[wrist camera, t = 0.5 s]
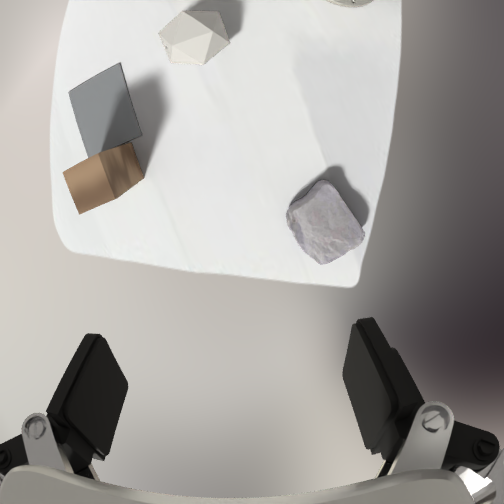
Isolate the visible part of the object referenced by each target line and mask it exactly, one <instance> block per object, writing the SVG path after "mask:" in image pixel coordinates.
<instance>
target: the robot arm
mask: <svg viewBox="0 0 504 504" xmlns="http://www.w3.org/2000/svg"><path fill="white" fill-rule="evenodd" d="M326 1H329V2H331V3H333V4H337V5H340V6H345V7H361V6H364V5H367V4H369V3H370V2H372V1H373V0H326ZM343 380H344V383H345V385H346V389H347V392H348V395H349V398H350V401H351V404H352V407H353V410H354V413H355V416H356V419H357V422H358V426H359V429H360V432H361V435H362V438H363V441H364V445H365V447H366V449H370V450H371V452H372V455H373V454H376V453H380V452H381V455H382V458H383V459H384V462H383V464H382V466H381V468H380V469H379V471H378V473H377V475H376V477H375V479H371V480H367V481H363V482H359V483H355V484H350V485H346V486H341V487H336V488H331V489H325V490H320V491H314V492H307V493H301V494H293V495H284V496H274V497H260V498H259V497H258V498H202V497H188V496H177V495H169V494H161V493H154V492H148V491H142V490H136V489H131V488H125V487H121V486H117V485H113V484H108V483H105V482H101V481H100V480H99V478H98V476H97V474H96V472H95V470H94V468H93V466H92V464H91V461H92V458H94V459H97V460H102V461H104V460H105V456H107V455H108V454H109V452H110V448H111V445H112V441H113V438H114V434H115V430H116V427H117V423H118V420H119V417H120V413H121V410H122V406H123V403H124V400H125V397H126V394H127V390H128V382H127V380H126V378H125V376H124V374H123V372H122V371H121V369H120V367H119V365H118V363H117V361H116V359H115V357H114V355H113V353H112V351H111V349H110V347H109V345H108V343H107V341H106V339H105V338H103V337H102V335H100V334H89V333H88V334H86V335H85V336H84V338H83V340H82V342H81V343H80V345H79V347H78V349H77V351H76V352H75V354H74V356H73V358H72V360H71V362H70V363H69V365H68V367H67V369H66V371H65V373H64V375H63V377H62V379H61V381H60V383H59V385H58V387H57V389H56V391H55V393H54V395H53V397H52V400H51V401H50V404H49V406H48V408H47V410H46V412H47V413H48V414H47V416H45V415H44V414H42V413H34V414H31V415H30V416H28V417H27V418H26V419H25V421H24V422H23V425H22V434H20V435H18V436H16V437H14V438H13V439H10V440H8V441H6V442H4V443H2V444H0V504H504V449H502V450H501V449H499V441H498V440H497V438H496V436H495V435H494V434H492V433H490V432H488V431H484V430H481V429H478V428H475V427H472V426H469V425H466V424H463V423H460V422H457V421H454V417H453V413H452V411H451V409H450V408H449V407H448V406H447V405H445V404H443V403H441V402H436V401H433V402H428V403H426V404H425V402H424V400H423V398H422V396H421V394H420V392H419V390H418V388H417V386H416V384H415V382H414V380H413V378H412V377H411V375H410V373H409V371H408V369H407V367H406V366H405V364H404V362H403V360H402V358H401V356H400V355H399V353H398V351H397V350H396V349H395V348H390V346H389V344H388V342H387V340H386V338H385V337H384V335H383V333H382V332H381V330H380V328H379V326H378V325H377V323H376V321H375V319H374V318H373V317H370V318H363V319H358V320H357V322H356V324H353V325H352V329H351V334H350V340H349V344H348V349H347V354H346V358H345V363H344V367H343ZM472 497H473V498H474V500H473V498H472ZM474 502H475V503H474Z"/></svg>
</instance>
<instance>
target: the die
mask: <svg viewBox="0 0 504 504" xmlns="http://www.w3.org/2000/svg"><path fill="white" fill-rule="evenodd" d="M159 36H160V38H161V40H162V43H163V45H164V48H165V50H166V52H167V55H168V57H169V59H170V62H171V64H196V65H204V64H205V63H206V62H208V61H209V60H210V59H211V58H212V57H214V56H215V55H216V54H217V53H218V52H220V51H221V50H222V49H223V48H225V47H226V46H227V45H229V44H230V41H229V38H228V35H227V32H226V29H225V26H224V24H223V21H222V18H221V15H220V13H219V11H182V12H181V13H180V14H178V15H177V16H176V17H175V18H174V19H173V20H172V21H171V22H169V23H168V24H167V25H166V26H165V27H164V28H163V29H162V30H161V31H160V32H159Z"/></svg>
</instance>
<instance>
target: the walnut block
mask: <svg viewBox="0 0 504 504" xmlns="http://www.w3.org/2000/svg"><path fill="white" fill-rule="evenodd" d="M63 175H64V178H65V180H66V183H67V185H68V188H69V191H70V193H71V196H72V198H73V200H74V203H75V205H76V208H77V210H78V212H79V215H80V214H82V213H84V212H86V211H88V210H91V209H93V208H95V207H98V206H100V205H102V204H105V203H107V202H109V201H112V200H114V199H117V198H118V197H119V196H121V195H122V194H123V193H125V192H126V191H127V190H129V189H130V188H132V187H133V186H134V185H136V184H137V183H138V182H139V181H141V180H142V179H144V176H143V173H142V171H141V168H140V165H139V162H138V160H137V157H136V154H135V151H134V148H133V145H132V142H131V143H128V144H125V145H121V146H118V147H115V148H112V149H109V150H106V151H103V152H100V153H97V154H95V155H93V156H91V157H90V158H88V159H86V160H84V161H82V162H80V163H78V164H77V165H75V166H73V167H71V168H69V169H68V170H66V171H64V172H63Z"/></svg>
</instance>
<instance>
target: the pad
mask: <svg viewBox="0 0 504 504" xmlns="http://www.w3.org/2000/svg"><path fill="white" fill-rule="evenodd" d="M68 93H69V96H70V100H71V104H72V107H73V111H74V114H75V118H76V121H77V124H78V128H79V131H80V134H81V137H82V140H83V143H84V146H85V149H86V152H87V155H88V158H90V157H91V156H93V155H95V154H97V153H100V152H103V151H106V150H109V149H112V148H114V147H116V146H119V145H121V144H123V143H125V142H127V141H130V140H132V139H134V138H136V137H139V136H141V135H142V134H141V131H140V128H139V125H138V122H137V118H136V115H135V112H134V109H133V106H132V103H131V99H130V96H129V93H128V89H127V86H126V83H125V79H124V76H123V72H122V69H121V65H120V63H119V64H117V65H115V66H113V67H111V68H109V69H107V70H105V71H104V72H102V73H100V74H98V75H96V76H95V77H93V78H91V79H89V80H88V81H86V82H84V83H83V84H81V85H79V86H78V87H76V88H75V89H73V90H72V91H70V92H68Z"/></svg>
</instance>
